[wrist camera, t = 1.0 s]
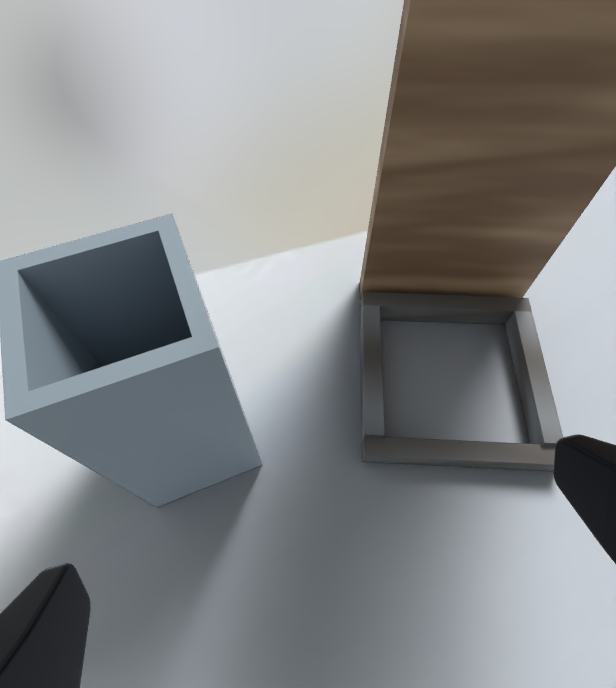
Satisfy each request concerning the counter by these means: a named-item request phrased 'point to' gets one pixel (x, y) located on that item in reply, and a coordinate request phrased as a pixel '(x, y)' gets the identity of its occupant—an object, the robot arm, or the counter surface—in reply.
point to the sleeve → (122, 362)
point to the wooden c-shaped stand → (484, 191)
